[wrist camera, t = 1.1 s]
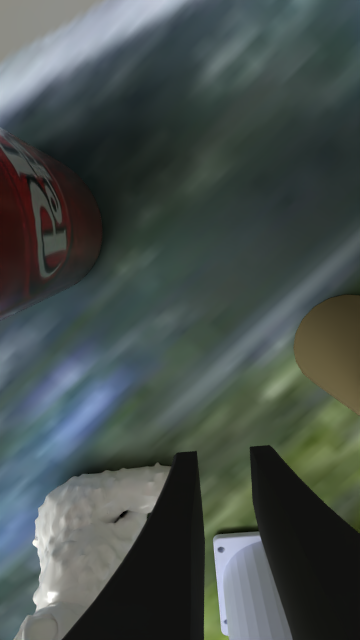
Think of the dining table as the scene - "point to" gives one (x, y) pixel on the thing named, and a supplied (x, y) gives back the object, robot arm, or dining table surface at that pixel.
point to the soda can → (42, 226)
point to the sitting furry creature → (86, 542)
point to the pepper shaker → (332, 348)
